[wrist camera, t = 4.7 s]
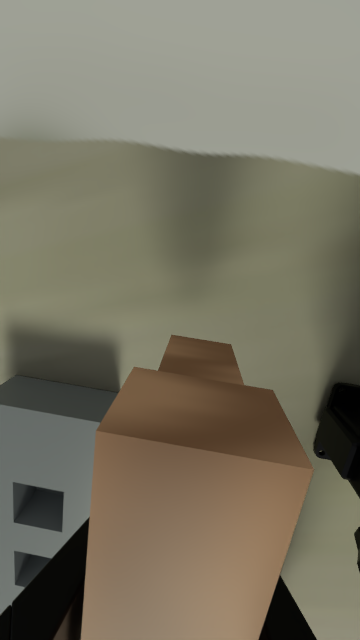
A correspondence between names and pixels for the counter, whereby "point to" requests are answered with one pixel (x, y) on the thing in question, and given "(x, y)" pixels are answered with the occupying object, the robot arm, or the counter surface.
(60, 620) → the robot arm
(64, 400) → the rail
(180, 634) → the tan pronged block
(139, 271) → the counter surface
